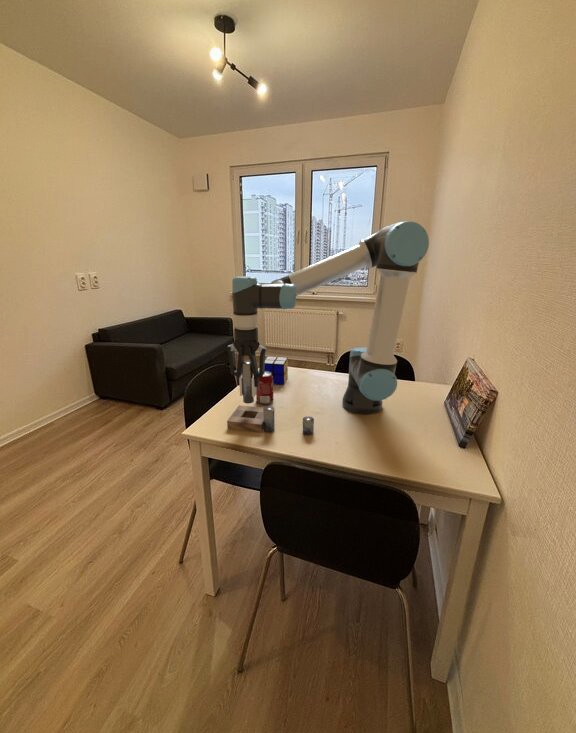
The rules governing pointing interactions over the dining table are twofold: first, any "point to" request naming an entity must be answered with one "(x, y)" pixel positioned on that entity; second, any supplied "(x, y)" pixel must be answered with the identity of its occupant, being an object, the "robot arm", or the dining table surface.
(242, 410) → the hole block
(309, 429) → the short pin
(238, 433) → the dining table surface
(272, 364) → the puzzle cube
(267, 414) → the medium pin
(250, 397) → the long pin
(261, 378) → the soda can
